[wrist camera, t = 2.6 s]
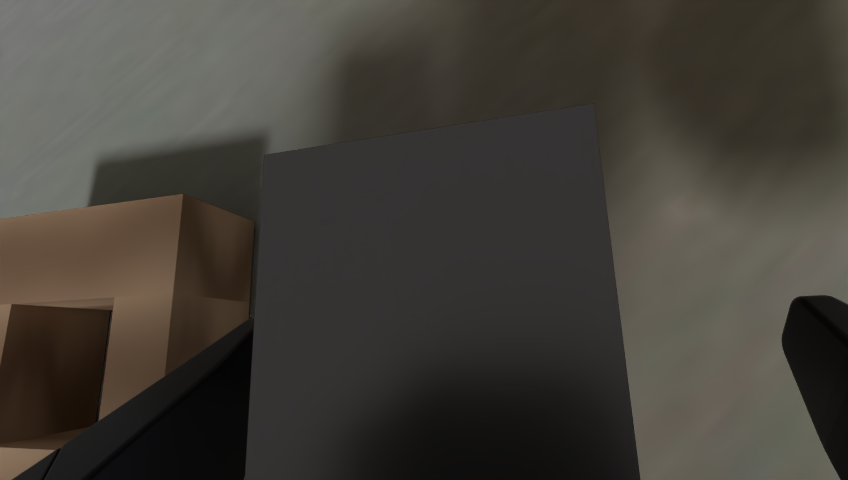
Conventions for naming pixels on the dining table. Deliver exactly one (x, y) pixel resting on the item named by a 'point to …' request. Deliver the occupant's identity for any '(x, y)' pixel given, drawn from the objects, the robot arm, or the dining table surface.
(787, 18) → the dining table surface
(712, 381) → the dining table surface
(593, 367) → the block
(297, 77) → the dining table surface
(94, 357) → the bit block
